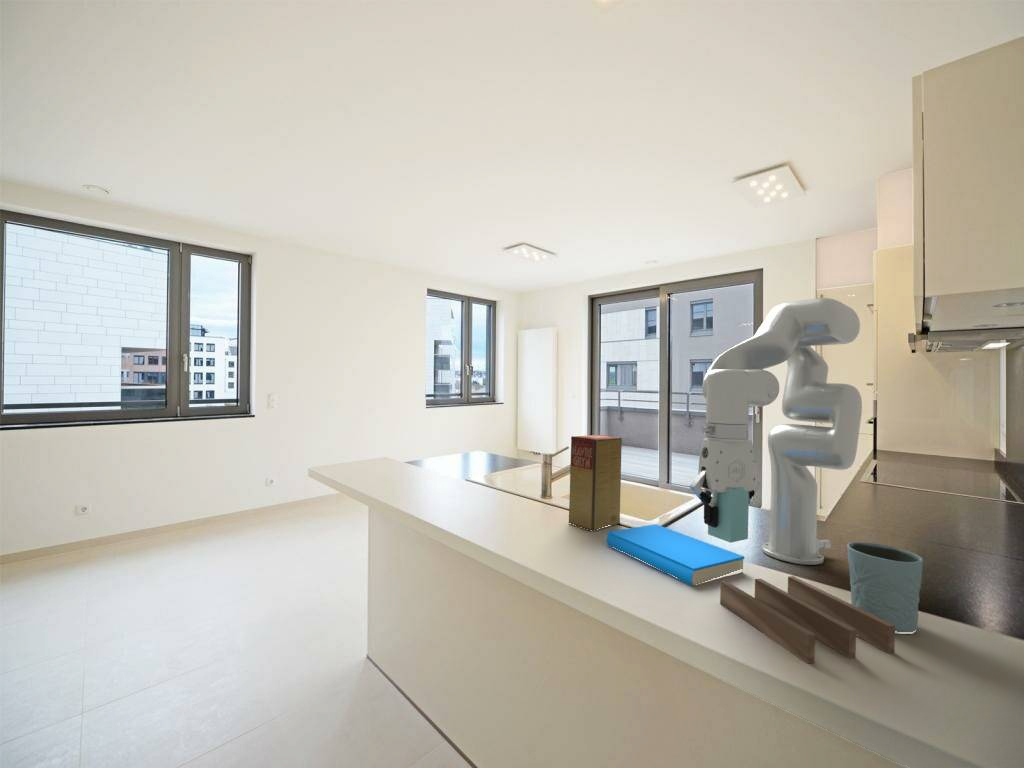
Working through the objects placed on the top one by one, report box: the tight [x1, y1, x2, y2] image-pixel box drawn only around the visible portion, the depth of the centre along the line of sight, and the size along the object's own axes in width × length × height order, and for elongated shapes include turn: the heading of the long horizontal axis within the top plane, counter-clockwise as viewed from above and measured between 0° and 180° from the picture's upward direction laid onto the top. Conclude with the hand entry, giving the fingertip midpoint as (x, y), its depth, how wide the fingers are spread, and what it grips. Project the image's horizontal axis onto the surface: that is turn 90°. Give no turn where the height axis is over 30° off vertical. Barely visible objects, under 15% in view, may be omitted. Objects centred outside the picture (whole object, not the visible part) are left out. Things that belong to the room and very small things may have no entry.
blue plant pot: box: [846, 541, 924, 632], centre depth 77 cm, size 10×10×12 cm
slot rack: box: [719, 575, 896, 664], centre depth 74 cm, size 16×18×4 cm
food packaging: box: [568, 434, 623, 532], centre depth 128 cm, size 13×9×25 cm
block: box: [707, 488, 750, 543], centre depth 86 cm, size 5×5×10 cm
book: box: [606, 524, 745, 587], centre depth 102 cm, size 17×4×25 cm
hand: (725, 523), depth 87 cm, fingers closed on block, 5 cm apart
